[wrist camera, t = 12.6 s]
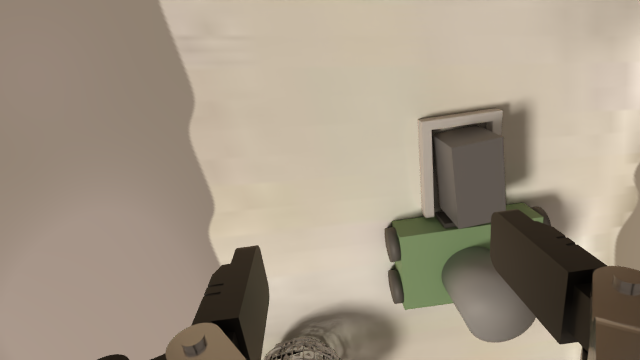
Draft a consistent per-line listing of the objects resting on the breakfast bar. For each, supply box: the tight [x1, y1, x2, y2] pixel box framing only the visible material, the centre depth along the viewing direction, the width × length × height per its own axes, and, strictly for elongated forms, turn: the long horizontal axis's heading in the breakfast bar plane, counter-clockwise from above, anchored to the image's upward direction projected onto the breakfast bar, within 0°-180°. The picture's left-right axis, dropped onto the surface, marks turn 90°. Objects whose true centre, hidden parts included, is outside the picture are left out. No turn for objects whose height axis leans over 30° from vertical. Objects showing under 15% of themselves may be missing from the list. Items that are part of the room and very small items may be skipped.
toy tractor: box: [385, 108, 551, 342], centre depth 38 cm, size 22×18×11 cm
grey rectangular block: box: [432, 125, 506, 229], centre depth 39 cm, size 9×5×6 cm, turn 12°
